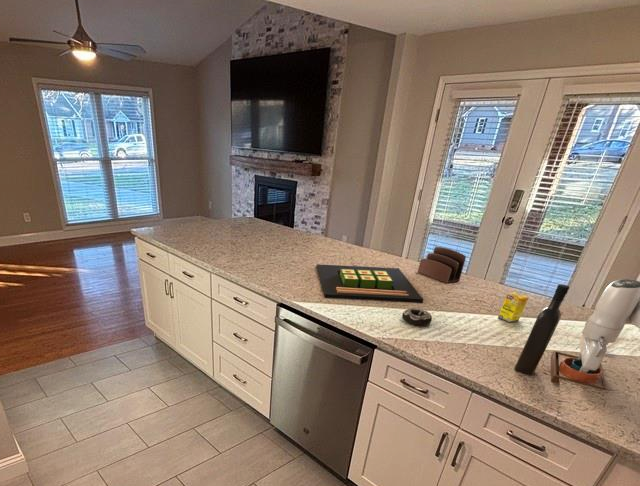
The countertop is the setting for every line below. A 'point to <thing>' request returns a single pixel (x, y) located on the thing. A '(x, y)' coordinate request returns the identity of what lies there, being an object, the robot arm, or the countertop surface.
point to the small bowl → (579, 366)
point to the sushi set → (366, 283)
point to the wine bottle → (541, 333)
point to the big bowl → (578, 372)
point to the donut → (417, 317)
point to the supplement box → (512, 307)
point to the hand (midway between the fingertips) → (579, 369)
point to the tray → (556, 377)
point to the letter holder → (443, 265)
